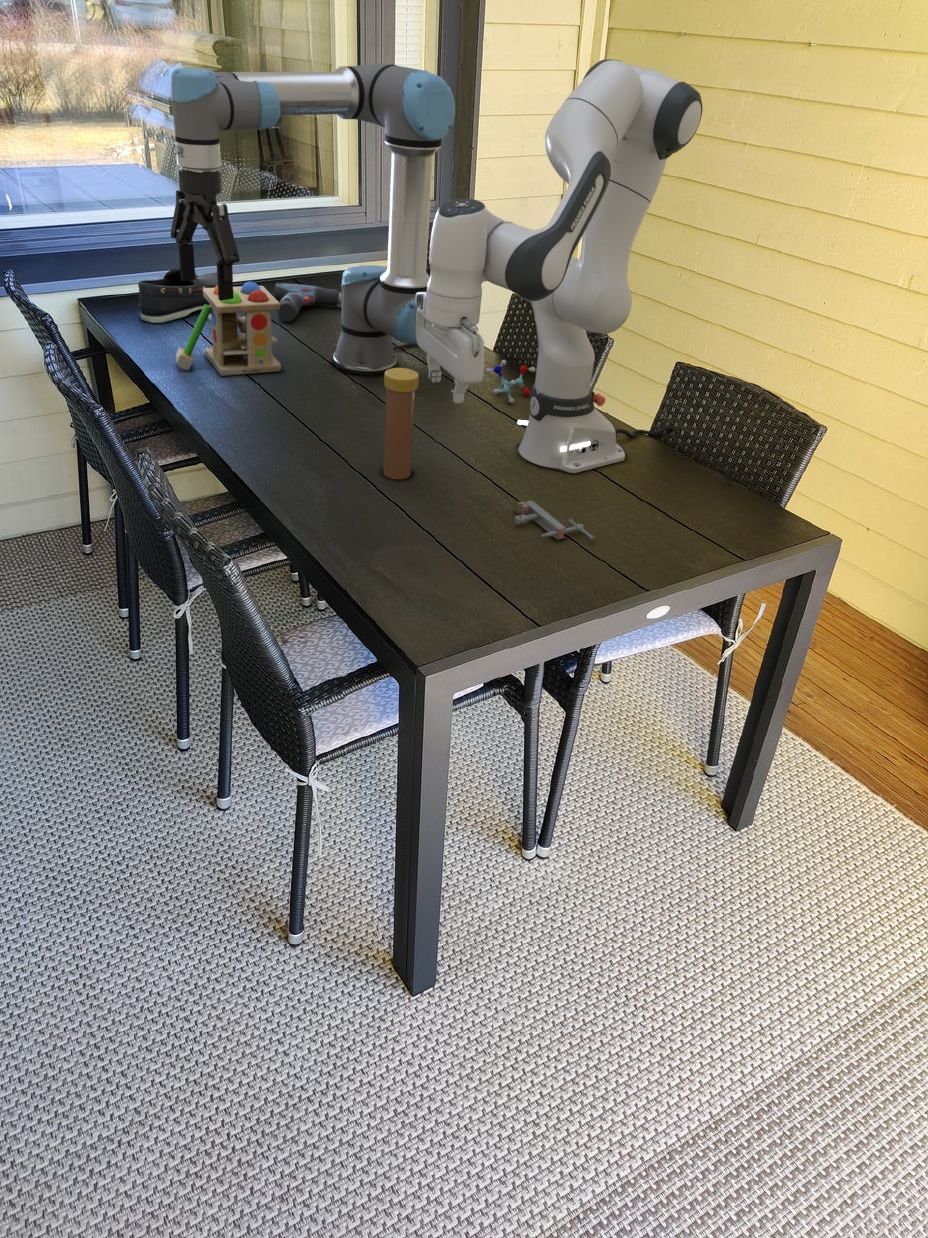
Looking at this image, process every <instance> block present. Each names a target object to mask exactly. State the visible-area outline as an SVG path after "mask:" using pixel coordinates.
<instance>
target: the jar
mask: <svg viewBox="0 0 928 1238" xmlns="http://www.w3.org/2000/svg"><path fill="white" fill-rule="evenodd" d="M416 390H417V389H416ZM416 390H414V391H410V392H397V391H392V390H389V389H387V388H386V387H385V409H384V410H385V412H384V437H383V438H384V439H383V459H382V461H383V462H382V475H383V476H384V477H386V478H389V479H392V480H404V479H408V478H409V477H411V474H412V459H413V443H414V442H413V441H414V439H413V438H414V424H415V422H414V421H415V405H416Z"/></svg>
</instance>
